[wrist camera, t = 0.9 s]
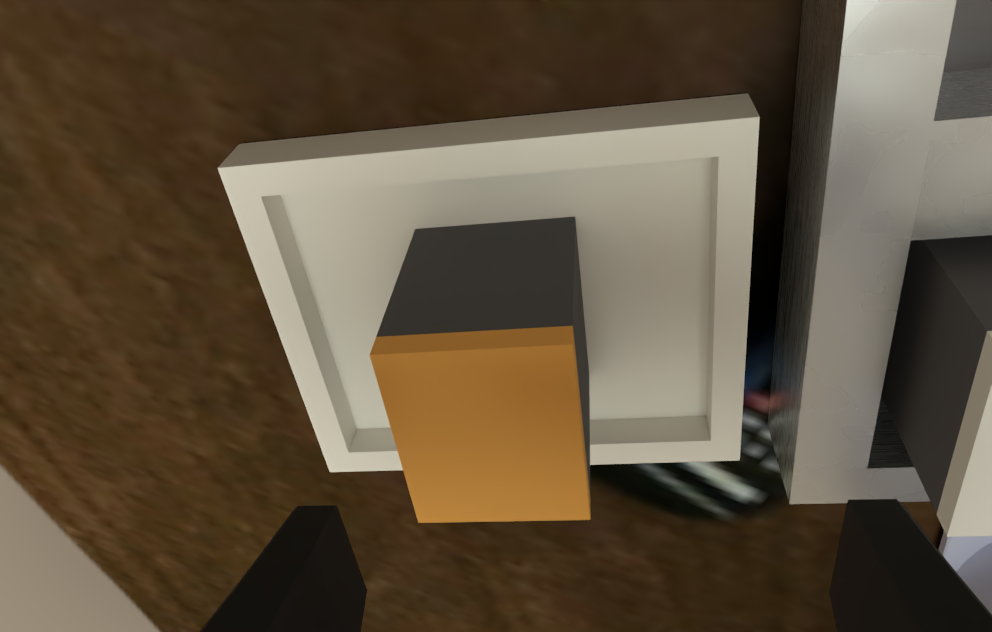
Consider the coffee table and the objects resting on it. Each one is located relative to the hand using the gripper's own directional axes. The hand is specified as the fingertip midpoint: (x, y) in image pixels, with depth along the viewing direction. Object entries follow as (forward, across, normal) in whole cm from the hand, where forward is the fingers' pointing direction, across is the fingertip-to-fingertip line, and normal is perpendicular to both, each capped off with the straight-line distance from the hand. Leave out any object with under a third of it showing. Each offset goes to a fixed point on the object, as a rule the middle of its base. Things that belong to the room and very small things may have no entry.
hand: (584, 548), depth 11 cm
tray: (+10, +2, +2) cm, 10 cm away
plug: (+10, +2, +2) cm, 10 cm away
